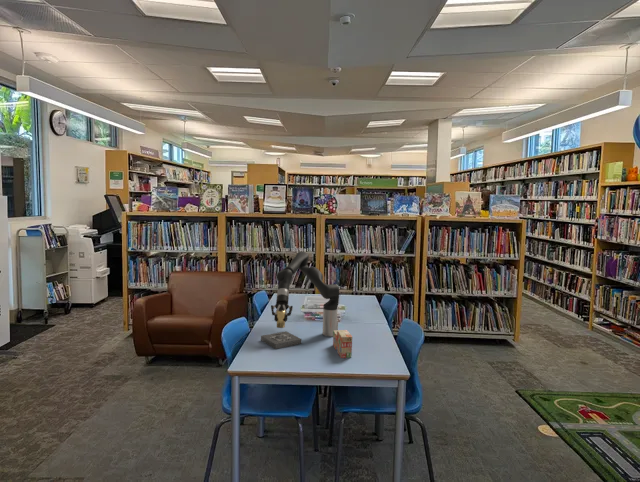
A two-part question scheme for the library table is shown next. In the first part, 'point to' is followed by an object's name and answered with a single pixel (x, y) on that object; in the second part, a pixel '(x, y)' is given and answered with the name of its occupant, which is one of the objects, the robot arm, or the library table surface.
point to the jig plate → (281, 340)
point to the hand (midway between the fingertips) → (280, 321)
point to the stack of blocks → (343, 343)
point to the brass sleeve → (280, 318)
